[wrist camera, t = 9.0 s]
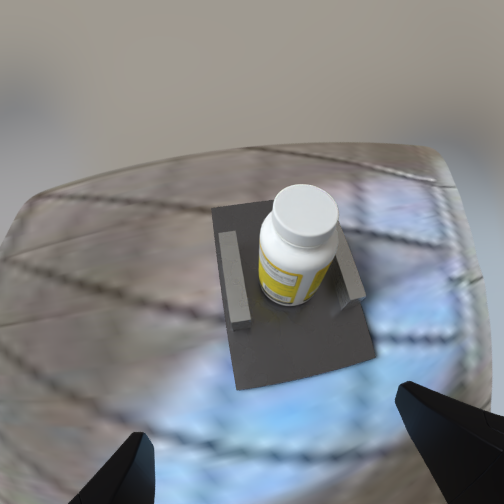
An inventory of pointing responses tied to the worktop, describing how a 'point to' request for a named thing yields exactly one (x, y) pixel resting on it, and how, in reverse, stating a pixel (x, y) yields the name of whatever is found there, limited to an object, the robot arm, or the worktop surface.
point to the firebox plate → (285, 308)
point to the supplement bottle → (297, 244)
